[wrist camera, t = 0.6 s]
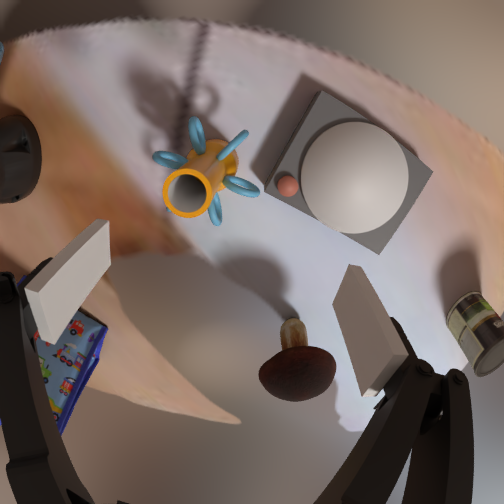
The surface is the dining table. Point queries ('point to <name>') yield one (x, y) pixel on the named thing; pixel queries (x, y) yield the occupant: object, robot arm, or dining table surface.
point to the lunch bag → (69, 363)
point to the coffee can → (478, 332)
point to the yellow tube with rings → (203, 175)
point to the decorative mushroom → (297, 366)
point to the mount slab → (348, 173)
